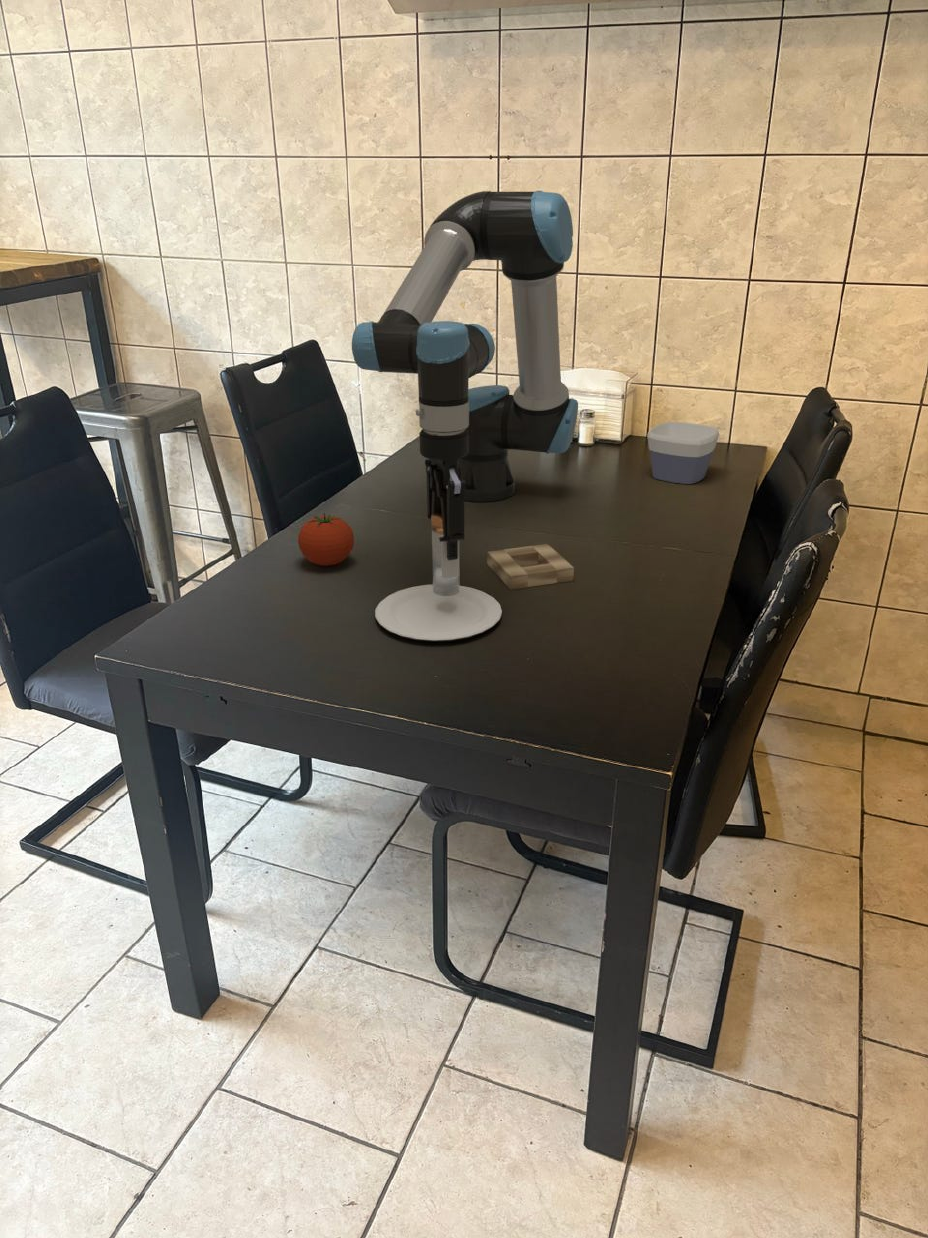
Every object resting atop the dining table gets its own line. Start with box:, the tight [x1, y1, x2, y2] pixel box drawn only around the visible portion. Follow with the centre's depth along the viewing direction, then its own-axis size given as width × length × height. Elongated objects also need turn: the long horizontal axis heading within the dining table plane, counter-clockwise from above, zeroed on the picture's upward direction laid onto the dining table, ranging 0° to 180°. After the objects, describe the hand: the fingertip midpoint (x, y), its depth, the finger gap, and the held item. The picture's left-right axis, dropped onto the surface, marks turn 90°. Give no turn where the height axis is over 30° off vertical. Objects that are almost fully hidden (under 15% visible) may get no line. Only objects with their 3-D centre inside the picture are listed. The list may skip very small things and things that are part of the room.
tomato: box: [297, 512, 355, 567], centre depth 168 cm, size 10×10×10 cm
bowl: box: [646, 421, 720, 485], centre depth 214 cm, size 15×15×11 cm
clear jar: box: [430, 512, 461, 596], centre depth 148 cm, size 4×4×13 cm
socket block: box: [486, 543, 575, 590], centre depth 165 cm, size 12×12×2 cm
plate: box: [374, 584, 503, 643], centre depth 150 cm, size 21×21×2 cm
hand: (446, 569), depth 149 cm, fingers closed on clear jar, 4 cm apart
